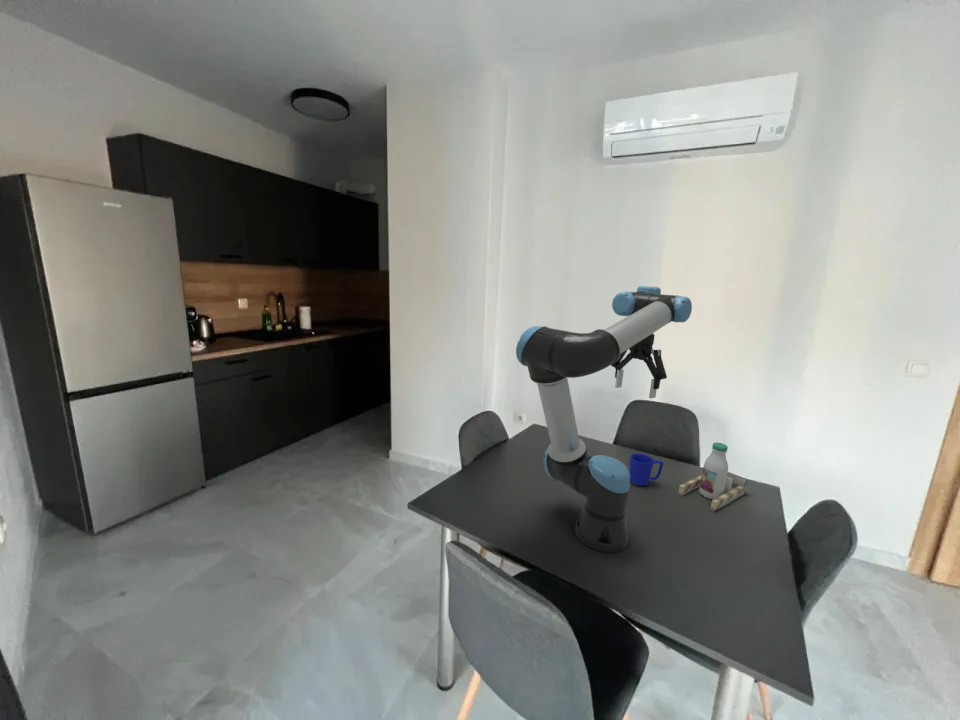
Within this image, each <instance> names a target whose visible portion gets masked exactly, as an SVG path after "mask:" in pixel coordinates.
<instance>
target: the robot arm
mask: <svg viewBox="0 0 960 720" xmlns="http://www.w3.org/2000/svg"><path fill="white" fill-rule="evenodd" d="M611 307H612V309H613V312H614V313H615V314H616V315H617V316H621V317H624V318H622V319H621V320H619V321H616V322H615V323H614V324H611V325H610V326H608V327H607V328H605V329H602V328H598V329H595V330H594V331H592V332H586V333H585V332H583V333H582V332H581V333H580V332H574V331H573V332H572V331H568V330H564V329H563V330H561V329H556V328H551V327H548V326H545V325H544V326H540V325H539V326H538V325H533V326H531V327H528V328H527V329H526V330H525V331H523V333H522V334H521V335H520V337H519V340H518V341H517V343H516V347H515V349H516V350H515V355H516V359H517V361H518V362H519V364H521V366H524V367H527V371H528V374H529V378H530V380H531V381H532V382H533V383H535V384H536V385H537V388H538V393H539V397H540V401H541V407H542V409H543V414H544V415H543V416H544V419H545V424H546V428H547V432H548V435H549V436H548V437H549V441H550V444H548V447H547V449H546V450H545V452H544V456H545V457H543V460H542V461H543V462H542V463H543V468H544V470H545V473H546V474H547V475H548V476H549V477H550V478H552V480H554V481H555V482H557V483H559V484H562V485H563V486H565V487H567V488H569V489H571V490H573V491H575V492H577V494H579V495H581V496H583V497H584V502H583V503H584V504H583V505H584V506H583V509H582V510H581V512H580V514H579V516H578V518H577V520H576V522H575V529H574V532H575V535H576V537H577V539H578V540H579V541H580V542H581V543H582V544H583V545H585V546H586V547H589V548H590V549H593V550H595V551H597V552H598V551H599V552H603V553H617V552H622V551H623V550H624V549H626V547H627V546H628V542H629V531H628V529H627V528H628V527H627V522H626V511H627V504H628V499H629V491H630V488H631V481H630V469H629V468H628V467H627V465H626V464H624V463H623V462H622V461H620V460H619V459H616V458H615V457H611V456H607V455H605V454H604V455H603V454H602V455H600V454H597V455H594V456H592V455H589V453H588V452H587V448H586V444H585V442H584V441H583V440H582V439H581V438H580V436H579V431H578V426H577V421H576V416H575V412H574V406H573V405H574V404H573V400H572V397H571V390H570V385H569V380H568V378H569V379H570V378H571V379H574V378H575V379H576V378H582V377H586V376H590V375H592V374H595V373H598V372H600V371H602V370H604V369H606V368H608V367H610V366H611V367H613V368H615V372H614V378H615V386H614V387H615V388H616V389H619V388H622V386H623V378H624V371H625V370H624V369H623V368H624V367H625V366H626V365H627V364H629V362H630V361H632V360H633V359H635V360H639V361H643V362H644V363H645V364H646V366H647V368H648V370H649V372H650V374H651V376H652V379H651V381H650V387H649V395H648V398H649V399H656V396H657V391H658V389H660V385H661V380H666V379H667V378H668V376H667V373H666V369H665V366H664V362H663V358H662V350H661V348H660V349H653V345H654V343H655V334H654V333H656V332H658V331H659V330H660V329H661V328H664V327H665V326H666V325H667V324H670V323H671V322H672V323H686V322H687V321H688V319H690V317H691V314H692V312H693V311H692V308H693V305H692V301H691V299H690V298H689V297H687V296H681V295H674V294H673V295H672V294H662V289H661V288H660V287H658V286H647V285H646V286H645V285H639V286H638V287H637V289H636V291H623V292H618V293H616V295H615V296H614V297H613V299H612V304H611ZM628 350H629V353H628ZM626 354H627V355H626ZM625 355H626V356H625ZM652 356H653V357H652Z"/></svg>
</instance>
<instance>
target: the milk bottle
mask: <svg viewBox="0 0 960 720" xmlns="http://www.w3.org/2000/svg"><path fill="white" fill-rule="evenodd" d="M711 450H712V451H710V452H711V453H710V454H709V456H708V457H706V459H705V460H704V464H703V468H702V472H701V475H702V476H701V475H700V476H701V481H700V487H699V488H698V493H699V492H700V493H701V494H703V495H704V496H707V497H710V498H718V497H719V496H721V495H723V494H724V489H725V484H726V479H727V474H728V472H729V464H728V460H727V457H726V456H727V455H726V454H727V451H728V445H727V444H725V443H722V442H713V443H712V447H711ZM700 493H699V494H700Z"/></svg>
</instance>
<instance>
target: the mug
mask: <svg viewBox="0 0 960 720" xmlns="http://www.w3.org/2000/svg"><path fill="white" fill-rule="evenodd" d="M629 458H630V460H629V473H630V483H632V484H633V485H636V486H641V487H644V486H645V487H646V486H647V485H648V484H649V481H650V480H653V481H655V480H658V479H659V478H660V475H661V473H662V470H663V466H664V462H663V461H662V460H656V459H655V460H654V458H652V457H651V456H649V455H646V454H643V453H633V454H631V455H630V457H629ZM655 464H659V468H658V472H657V473H656V475H655V476H654V477H651V474H652V471H653V467H654V465H655Z"/></svg>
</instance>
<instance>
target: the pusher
mask: <svg viewBox="0 0 960 720" xmlns="http://www.w3.org/2000/svg"><path fill="white" fill-rule="evenodd" d="M732 480H733V479H732V478H730V477H727V479H726V484H725V489H724V493H727V492H729V491H730V490H731V485H732Z"/></svg>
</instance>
